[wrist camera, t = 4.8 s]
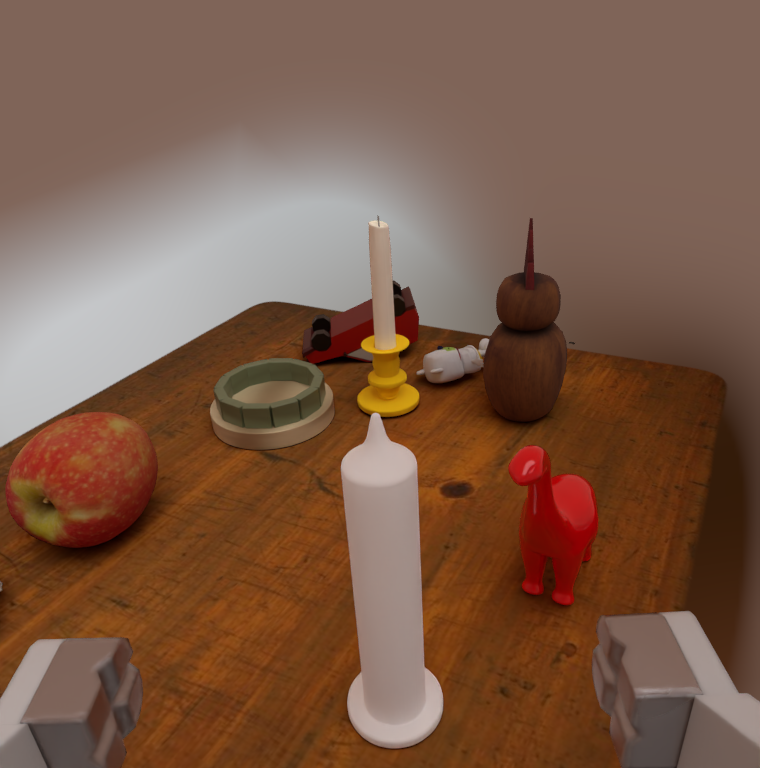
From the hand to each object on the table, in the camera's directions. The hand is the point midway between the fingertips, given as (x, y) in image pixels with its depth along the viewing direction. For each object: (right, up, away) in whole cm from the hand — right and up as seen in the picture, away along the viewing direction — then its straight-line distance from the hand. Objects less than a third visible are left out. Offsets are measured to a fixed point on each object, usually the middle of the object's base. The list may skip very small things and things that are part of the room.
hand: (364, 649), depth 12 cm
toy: (+18, +9, +50) cm, 54 cm away
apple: (-18, -5, +32) cm, 37 cm away
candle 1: (+1, +3, +44) cm, 44 cm away
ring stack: (-8, +2, +43) cm, 44 cm away
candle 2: (+1, -10, +19) cm, 22 cm away
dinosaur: (+10, -6, +25) cm, 28 cm away
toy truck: (-3, +12, +51) cm, 52 cm away
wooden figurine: (+12, +2, +42) cm, 44 cm away
